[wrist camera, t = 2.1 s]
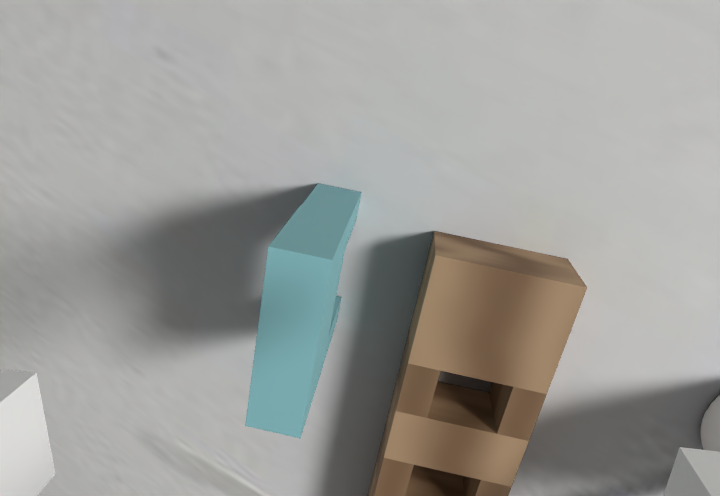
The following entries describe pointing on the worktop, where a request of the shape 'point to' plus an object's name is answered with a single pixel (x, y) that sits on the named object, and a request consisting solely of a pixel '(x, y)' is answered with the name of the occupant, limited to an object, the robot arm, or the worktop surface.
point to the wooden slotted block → (475, 368)
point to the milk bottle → (711, 427)
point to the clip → (299, 309)
